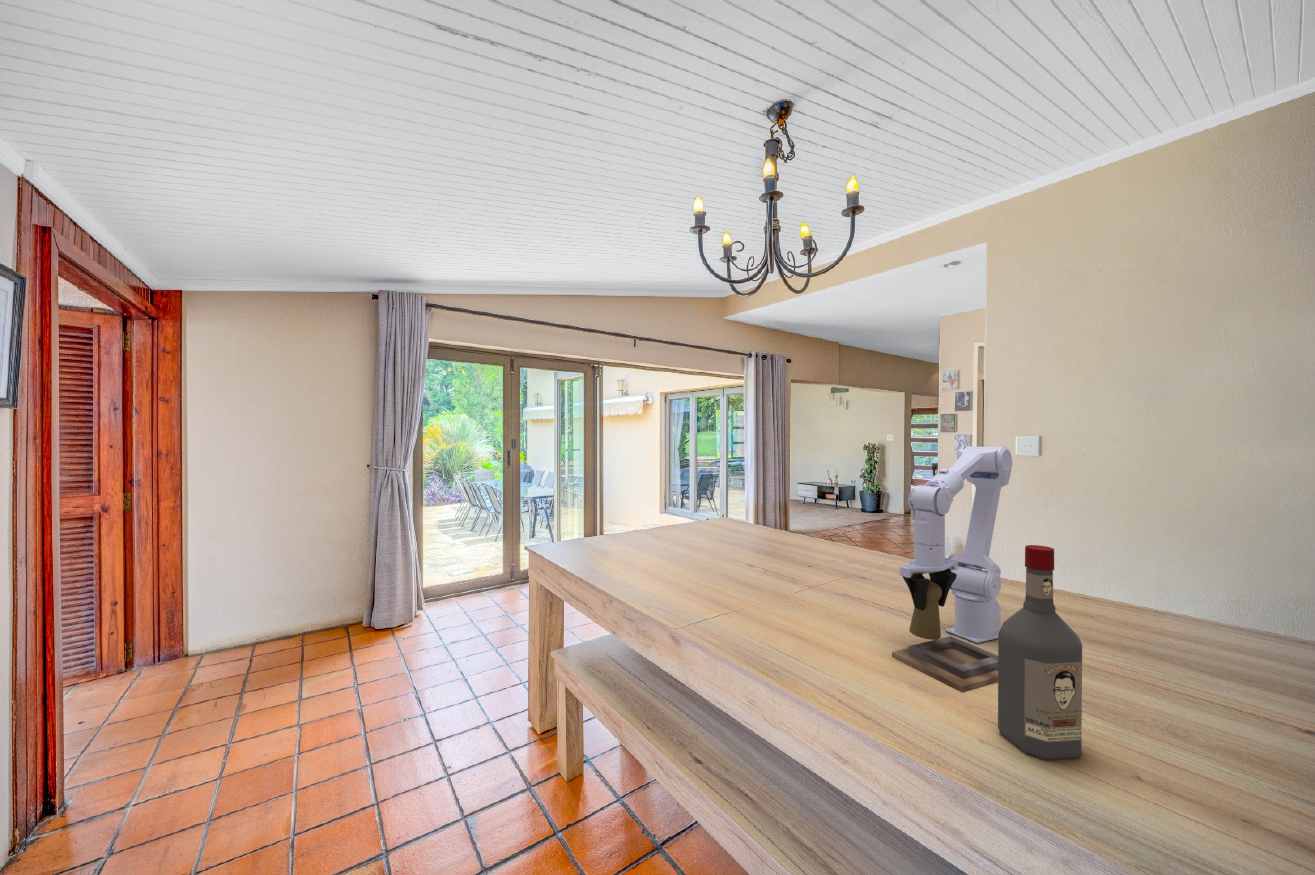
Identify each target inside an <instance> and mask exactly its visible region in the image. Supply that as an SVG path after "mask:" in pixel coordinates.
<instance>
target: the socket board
mask: <svg viewBox="0 0 1315 875" xmlns="http://www.w3.org/2000/svg"><path fill="white" fill-rule="evenodd" d="M891 658H894V659H895V660H897V661H900V662H901V661H902V663H903V662H904V664H906V665H907V664H909V665H911V666H912V667H911V666H910V667H911V668H914V669H915V670H917V669H918V671H919V670H920V671H919V672H921V673H923V674H925V673H926V675H927V676H929V677H931V678H933V679H935V680H937V681H939V682H941V683H944V684H945V685H947V686H949V687H951V686H952V687H951V688H953V689H955V690H957V691H959V690H960V691H959V692H961V691H962V692H961V693H964V692H967V691H966V690H968V691H971V690H974V689H978V688H980V686H981V687H985V686H987V685H990V684H994V682H995V683H998V654H995V653H993V652H990V651H988V650H986V649H982V648H980V647H979V646H976V645H973V644H971V643H967V642H966V641H963V640H960V639H959V638H955V637H953V636H950V635H949V636H946V637H941V638H940V639H937V640H928V641H925V642H921V643H915V644H911V645H908V647H906V648H903V649H899V650H895V651H892V652H891ZM909 665H908V666H909ZM977 687H978V688H977ZM963 691H964V692H963Z"/></svg>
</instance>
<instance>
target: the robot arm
mask: <svg viewBox="0 0 1315 875" xmlns="http://www.w3.org/2000/svg"><path fill="white" fill-rule="evenodd" d="M1012 468H1013V457H1012V453H1011V451H1010V449H1009V448H1008V447H1007V446H973V445H972V446H970V445H962V446H961V447H960V448H959V449H958V450H957V456H956V461H955V462H954V463H953V464H952V465H951V467H950V468H940V469H939V470H938V472H937V473H936V474H935V475H933V477H931V478H930V479H929V480H928V481H927V482H925V484H923V485H919V484H918V485H916V486H915V487H913V488H912V489H911V490H910V492H909V494H908V499H907V502H908V503H907V504H908V507H909V509H910V512H911V513H910V514H911V519H912V520H913V522H914V523H913V530H914V531H913V532H914V534H913V537H914V542H913V546H914V553H913V555H914V556H913V557H914V558H913V559H910V562H909V563H907V564H904V565H900V566H899V576H901V577H902V579H903V580H904V582H905V583H906V586H907V588H908V590H909V592H910V595H911V598H912V604H913V608H914V607H915V608H917V609H920V610H925V607H926V596H927V591H928V587H929V584H930V582H933V583H936V584H937V585H939V586H940V588H941V589H942V596H941V598H940V599H939V600H938V603H939V607H942V608H943V607H945V605H946V602H947V597H948V595H949V592H950V591H951V595H954V626H951V627H948V628H947V627H946V629H945V631H946V632H948V633H950V634H953V635H955V636H958V637H959V638H960V637H961V638H962V639H966V640H968V641H969V642H973V643H975V644H980V643H984V642H989V641H993V640H996V639H997V640H998V633H999V631H1000V629H1001V627H1002V609H1001V608H1002V607H1001V605H1000V603H999V601H998V600H997V598H998V596H999V595H1000V592H1001V588H1002V582H1001V572H1002V571H1001V568H1000V567H999V565H998V564H997V563H996V562H994V560H993V559H992V558H991V557H990V552H991V548H992V547H991V546H992V540H993V535H994V529H995V525H996V519H997V513H998V507H999V501H1000V500H999V499H1000V496H1001V490H1002V488H1003V487H1005V486H1007V485H1008V484H1009V481H1010V478H1011V473H1012ZM965 480H966V481H967V482H968V483H970V484H972V485H973V486H974V487H975V491H974V497H973V503H972V508H971V513H970V518H969V524H968V530H967V535H966V540H965V546H964V551H963V552H961V553H959V554H957V555H954V556H952V558H946V546H945V544H946V537H945V536H946V529H945V528H946V522H945V521H946V514H948V513H949V512H950V510H951V505H952V503H953V501H954V498H955V496H956V495H958V493H959V492H961V490H963V488H964V485H965ZM945 558H946V559H945ZM925 574H928V576H929V578H926V577H925Z"/></svg>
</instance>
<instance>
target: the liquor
mask: <svg viewBox="0 0 1315 875" xmlns="http://www.w3.org/2000/svg"><path fill="white" fill-rule="evenodd" d="M1024 567H1025V599H1024V601H1023V604H1022V605H1023V606H1022V607H1021V608H1020V609H1019V610H1017V611H1016V612H1014V614H1012V615H1011V616H1010V617H1008V618H1007V619H1006V620H1004V621H1003V623H1002V624H1001V629H1000V631H999V633H998V638H997V640H998V642H997V643H998V644H997V647H998V648H997V651H998V652H997V655H998V682H997V728H998V730H999V732H1000V734H1001V736H1003V737H1004V738H1006V740H1008V741H1009V742H1010V743H1011V744H1013V745H1014V746H1016V748H1018V749H1019V750H1020V751H1022V752H1023V753H1025V754H1026V755H1030V756H1033V757H1036V758H1038V759H1041V758H1042V759H1041V760H1045V761H1052V760H1054V759H1055V760H1066V759H1065V758H1070V759H1077V758H1079V757H1080V755H1081V754H1082V744H1083V743H1082V739H1083V738H1082V735H1083V733H1082V727H1083V726H1082V724H1083V722H1082V721H1083V717H1082V716H1083V714H1082V713H1083V711H1082V710H1083V706H1082V705H1083V704H1082V703H1083V644H1082V642H1081V639H1080V637H1079V635H1077V633H1076V632H1075V631H1074V630H1073V629H1072V628H1071V627H1070V626H1069V625H1068V624H1067V623H1066V621H1064V620H1063V618H1062V617H1061V616H1060V615H1059V614H1058V613H1057V612H1056V606H1055V604H1054V571H1055V548H1053V547H1050V546H1047V545H1046V546H1045V545H1039V544H1037V545H1036V544H1028V545H1027V544H1026V545H1025V546H1024Z"/></svg>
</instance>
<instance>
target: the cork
mask: <svg viewBox="0 0 1315 875" xmlns="http://www.w3.org/2000/svg"><path fill="white" fill-rule="evenodd" d="M941 596H942V589H941V588H940V586H939V585H937V584H936V583H933V582H930V584H929V587H928V591H927V596H926V607H925V610H920V609H917V608H915V607H914V606H913V612H912V616H911V621H910V625H909V629H908V631H909V633H910V634H912V635H913V636H915V637H918V638H921V639H923V640H924V639H925V640H928V641H932V640H937V639H941V638H942V634H941V633H942V632H941V619H940V606H939V603H938V600H939V599H940V598H941Z"/></svg>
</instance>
